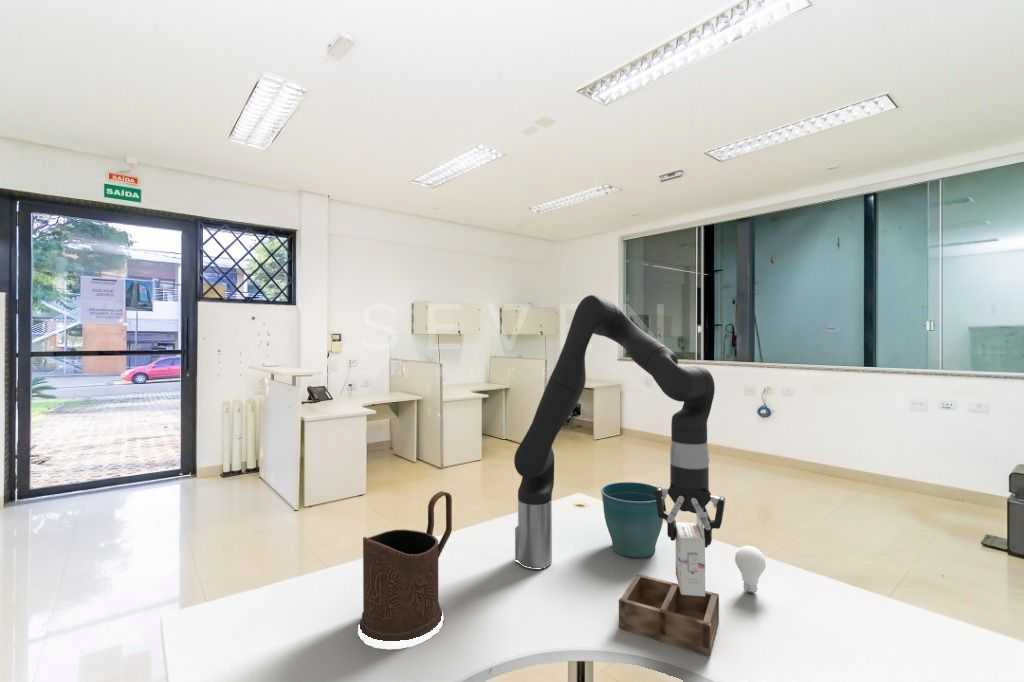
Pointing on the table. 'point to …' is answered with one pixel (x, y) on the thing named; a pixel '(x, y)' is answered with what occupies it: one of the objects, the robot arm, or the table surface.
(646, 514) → the flower pot
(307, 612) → the table surface
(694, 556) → the ink cartridge box
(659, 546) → the table surface
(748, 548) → the light bulb
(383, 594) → the cup holder
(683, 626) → the walnut rack
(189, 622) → the table surface
